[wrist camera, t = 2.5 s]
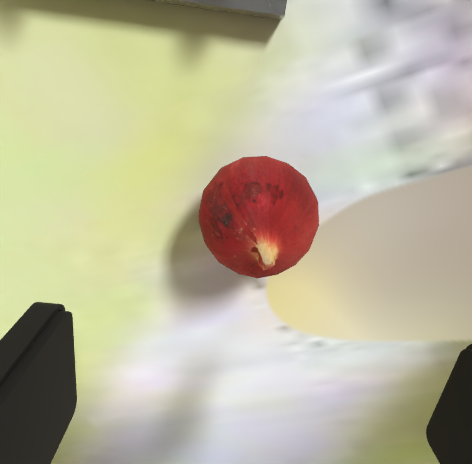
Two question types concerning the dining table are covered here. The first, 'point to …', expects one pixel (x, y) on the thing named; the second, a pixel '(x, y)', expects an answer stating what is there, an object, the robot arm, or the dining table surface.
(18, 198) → the dining table surface
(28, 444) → the robot arm
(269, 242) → the onion
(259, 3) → the grey pegged plate
